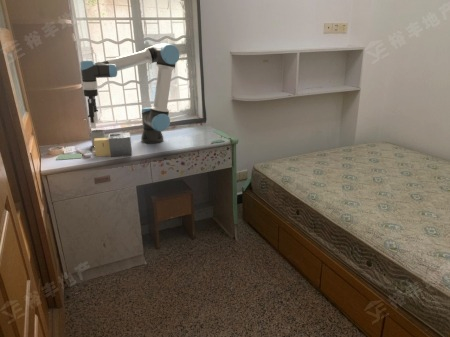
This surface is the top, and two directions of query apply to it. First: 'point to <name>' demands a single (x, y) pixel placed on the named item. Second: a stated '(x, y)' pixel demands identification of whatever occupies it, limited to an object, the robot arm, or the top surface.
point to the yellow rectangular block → (102, 147)
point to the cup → (97, 135)
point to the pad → (69, 156)
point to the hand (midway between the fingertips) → (94, 125)
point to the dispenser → (120, 144)
